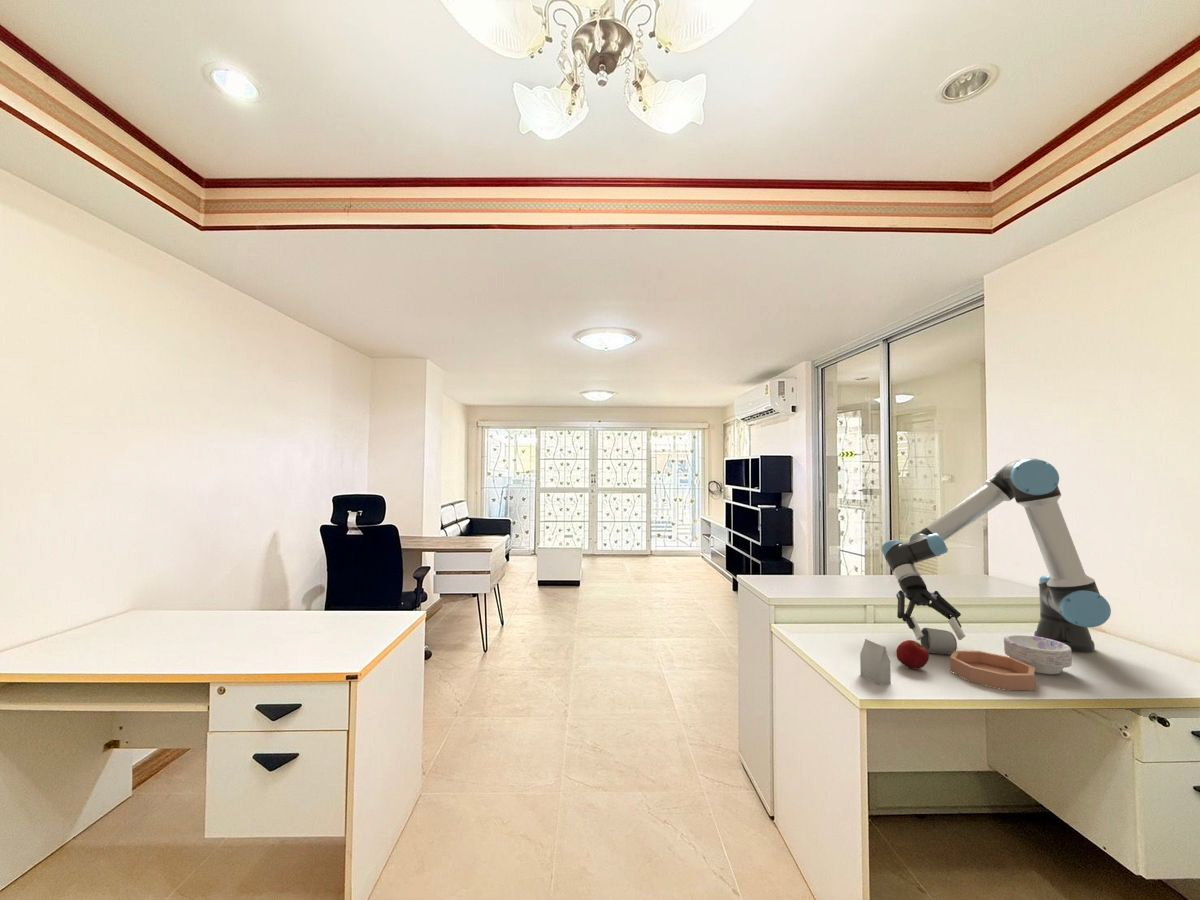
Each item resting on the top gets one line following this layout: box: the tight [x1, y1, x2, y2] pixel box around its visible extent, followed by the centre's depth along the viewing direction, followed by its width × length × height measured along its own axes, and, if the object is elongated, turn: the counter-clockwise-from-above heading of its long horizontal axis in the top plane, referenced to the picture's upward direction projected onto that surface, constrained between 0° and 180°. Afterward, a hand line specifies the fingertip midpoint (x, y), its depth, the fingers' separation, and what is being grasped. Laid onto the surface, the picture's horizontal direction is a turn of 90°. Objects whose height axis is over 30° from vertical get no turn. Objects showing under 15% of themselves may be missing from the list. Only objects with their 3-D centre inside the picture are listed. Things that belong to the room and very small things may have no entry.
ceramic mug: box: [919, 627, 958, 655], centre depth 161 cm, size 11×8×8 cm
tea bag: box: [859, 638, 892, 686], centre depth 138 cm, size 4×7×10 cm, turn 15°
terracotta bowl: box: [949, 650, 1036, 691], centre depth 141 cm, size 18×18×4 cm
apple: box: [895, 639, 930, 670], centre depth 146 cm, size 8×8×8 cm
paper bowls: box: [1003, 634, 1073, 675], centre depth 148 cm, size 15×15×8 cm
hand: (941, 638), depth 158 cm, fingers open, 13 cm apart
